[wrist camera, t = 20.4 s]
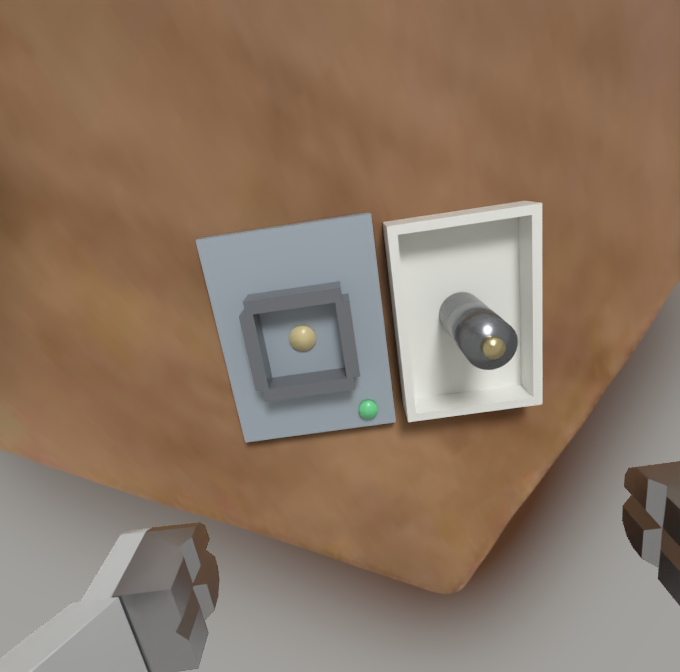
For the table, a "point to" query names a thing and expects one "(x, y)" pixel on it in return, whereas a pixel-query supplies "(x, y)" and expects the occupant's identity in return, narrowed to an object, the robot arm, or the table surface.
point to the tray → (483, 282)
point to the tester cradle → (301, 326)
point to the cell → (478, 331)
